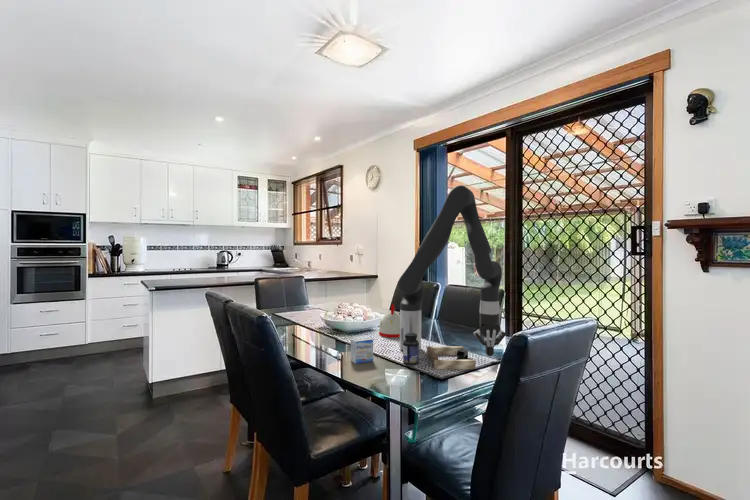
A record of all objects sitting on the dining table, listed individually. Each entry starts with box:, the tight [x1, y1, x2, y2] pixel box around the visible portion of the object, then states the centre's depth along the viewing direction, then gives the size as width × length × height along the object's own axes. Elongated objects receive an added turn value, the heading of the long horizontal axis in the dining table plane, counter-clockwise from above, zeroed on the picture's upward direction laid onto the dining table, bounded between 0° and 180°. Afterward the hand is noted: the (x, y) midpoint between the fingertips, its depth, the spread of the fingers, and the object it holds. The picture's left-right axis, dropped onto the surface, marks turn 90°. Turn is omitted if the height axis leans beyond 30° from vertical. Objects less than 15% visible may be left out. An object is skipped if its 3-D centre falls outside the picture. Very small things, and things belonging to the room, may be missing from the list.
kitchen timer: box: [378, 304, 400, 339], centre depth 191 cm, size 14×14×15 cm
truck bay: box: [426, 345, 477, 370], centre depth 149 cm, size 15×19×4 cm
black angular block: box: [454, 348, 474, 360], centre depth 149 cm, size 12×7×5 cm, turn 145°
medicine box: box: [350, 337, 374, 365], centre depth 148 cm, size 8×4×9 cm, turn 117°
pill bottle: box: [402, 333, 420, 366], centre depth 146 cm, size 6×6×11 cm
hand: (489, 355), depth 149 cm, fingers closed
